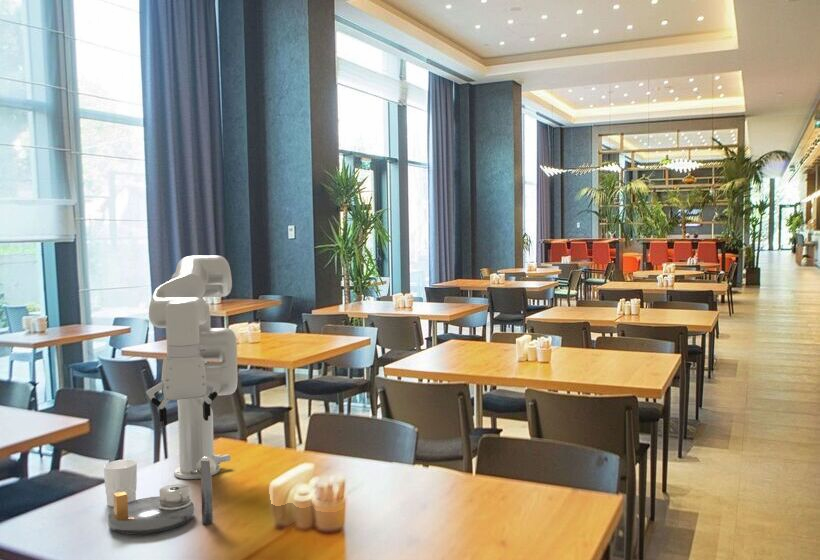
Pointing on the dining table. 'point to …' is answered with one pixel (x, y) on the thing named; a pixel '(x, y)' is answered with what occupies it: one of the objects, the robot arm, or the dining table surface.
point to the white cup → (120, 479)
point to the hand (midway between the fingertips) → (185, 421)
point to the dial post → (206, 487)
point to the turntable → (145, 515)
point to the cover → (174, 497)
